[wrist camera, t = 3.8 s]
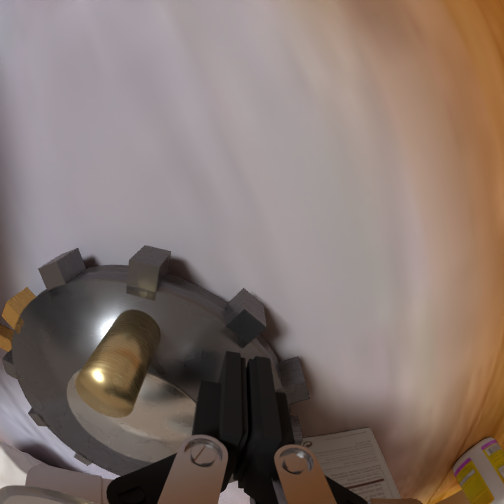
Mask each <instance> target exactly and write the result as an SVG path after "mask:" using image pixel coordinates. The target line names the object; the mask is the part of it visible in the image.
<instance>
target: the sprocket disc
mask: <svg viewBox="0 0 504 504" xmlns="http://www.w3.org/2000/svg"><path fill="white" fill-rule="evenodd" d="M170 255H171V251H167V250H163V249H159V248H154V247H150V246H146V245H145V246H144V247H142V248H141V249H140V250H139V251H138V252H137V253H136V254H135V255H134V256H133V257H132V258H131V259H130V260H129V266H128V265H103V266H93V267H89V268H86V267H85V264H84V262H83V259H82V257H81V254H80V252H79V249H78V248H76V249H74V250H71V251H69V252H66V253H64V254H62V255H60V256H58V257H56V258H55V259H53V260H51V261H50V262H48V263H47V264H45V265H43V266H42V267H40V268H39V272H40V274H41V276H42V279H43V281H44V283H45V286H46V288H47V289H46V290H45V291H43V292H42V293H41V294H39V295H38V296H37V297H36V296H35V295H34V294H33V293H32V292H31V291H30V290H29V289H28V288H27V287H26V288H25V289H24V290H22V291H21V292H19V293H18V294H17V295H15V296H14V297H13V298H11V299H10V300H9V301H7V302H6V305H5V307H4V310H3V313H2V317H3V318H4V319H5V320H6V321H7V322H8V323H9V325H10V326H11V327H12V328H13V329H14V333H13V339H12V349H11V350H10V351H9V352H8V353H7V354H6V355H5V356H4V357H3V358H2V360H3V364H4V367H5V371H6V373H7V374H8V375H10V376H12V377H14V378H16V379H18V381H19V384H20V386H21V389H22V391H23V393H24V395H25V397H26V399H27V400H28V402H29V403H30V405H31V407H32V408H31V410H30V411H29V413H28V414H29V415H30V416H31V418H32V419H33V420H34V421H35V423H36V424H37V425H38V426H47V427H48V428H49V429H50V430H51V431H52V432H53V433H54V434H55V435H56V436H57V437H58V438H59V439H60V440H61V441H62V442H63V443H65V444H66V445H67V446H68V447H70V448H71V449H72V450H73V451H75V452H76V453H75V455H74V457H75V458H76V459H78V460H79V461H81V462H82V463H84V464H86V465H87V466H88V465H90V464H91V463H94V464H96V465H97V466H99V467H101V468H103V469H105V470H107V471H110V472H112V473H114V474H117V475H119V476H123V475H126V474H128V473H131V472H133V471H136V470H138V469H141V468H143V467H146V466H148V465H150V464H153V463H155V462H157V461H160V460H162V459H164V458H166V457H168V456H171V455H173V454H175V453H177V452H178V449H179V447H180V445H181V443H182V442H183V440H185V439H186V438H188V437H190V436H191V435H192V428H193V421H194V414H195V408H196V402H197V396H198V391H199V386H200V381H201V380H204V381H209V382H214V383H218V381H219V377H220V373H221V369H222V365H223V361H224V357H225V353H226V351H230V352H236V353H240V354H241V357H243V358H246V367H247V363H248V360H249V359H254V357H255V356H259V357H266V358H270V361H271V368H272V374H273V381H274V387H275V392H282V393H285V395H286V398H287V404H288V409H289V404H292V403H296V402H299V401H303V400H307V399H310V397H309V393H308V389H307V386H306V382H305V378H304V375H303V371H302V368H301V364H300V361H299V357H298V356H297V357H294V358H290V359H287V360H283V361H279V362H278V360H277V358H276V355H275V354H274V352H273V351H272V349H271V347H270V346H269V344H268V342H267V341H266V340H265V338H264V337H263V336H262V335H261V334H260V333H261V332H262V331H264V330H265V329H266V328H267V325H266V319H265V313H264V306H263V304H262V303H261V302H260V301H258V300H257V299H256V298H255V297H254V296H252V295H251V294H250V293H249V292H248V291H247V290H245V289H244V288H243V289H242V290H241V291H240V292H239V293H238V294H237V295H236V296H235V297H234V298H233V299H232V300H231V301H230V302H229V303H226V302H225V301H223V300H222V299H221V298H219V297H218V296H216V295H214V294H212V293H210V292H209V291H207V290H205V289H203V288H202V287H200V286H198V285H195V284H193V283H191V282H188V281H186V280H184V279H182V278H179V277H177V276H174V275H170V274H168V268H169V261H170ZM289 414H290V409H289ZM290 419H291V425H292V430H293V435H294V441H295V445H301V443H302V442H303V437H302V433H301V428H300V423H299V419H298V416H294V415H290ZM234 481H237V480H233V474H232V476H231V478H230V480H229V483H231V482H234Z"/></svg>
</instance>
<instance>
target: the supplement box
mask: <svg viewBox="0 0 504 504" xmlns="http://www.w3.org/2000/svg"><path fill="white" fill-rule="evenodd" d="M300 446H303V447H305V448H307V449H309V450H310V451H311V452H313V453H314V455H315V456H316V458H317V460H318V462H319V464H320V466H321V469H322V471H323V473H324V475H326V476H327V477H329V478H331V479H332V480H334V481H335V482H337V483H339V484H340V485H342V486H344V487H345V488H347V489H349V490H350V491H352V492H354V493H355V494H357V495H359V496H361V497H362V498H363V499H365V500H369V499H370V498H377V499H401V496H400V494H399V491H398V489H397V487H396V484H395V482H394V480H393V477H392V475H391V473H390V470H389V468H388V466H387V463H386V461H385V459H384V457H383V454H382V452H381V450H380V447H379V445H378V443H377V441H376V439H375V436H374V434H373V432H372V430H371V428H363V429H357V430H351V431H346V432H340V433H334V434H328V435H321V436H314V437H306V438H303V442H302V443H301V445H300Z"/></svg>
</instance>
